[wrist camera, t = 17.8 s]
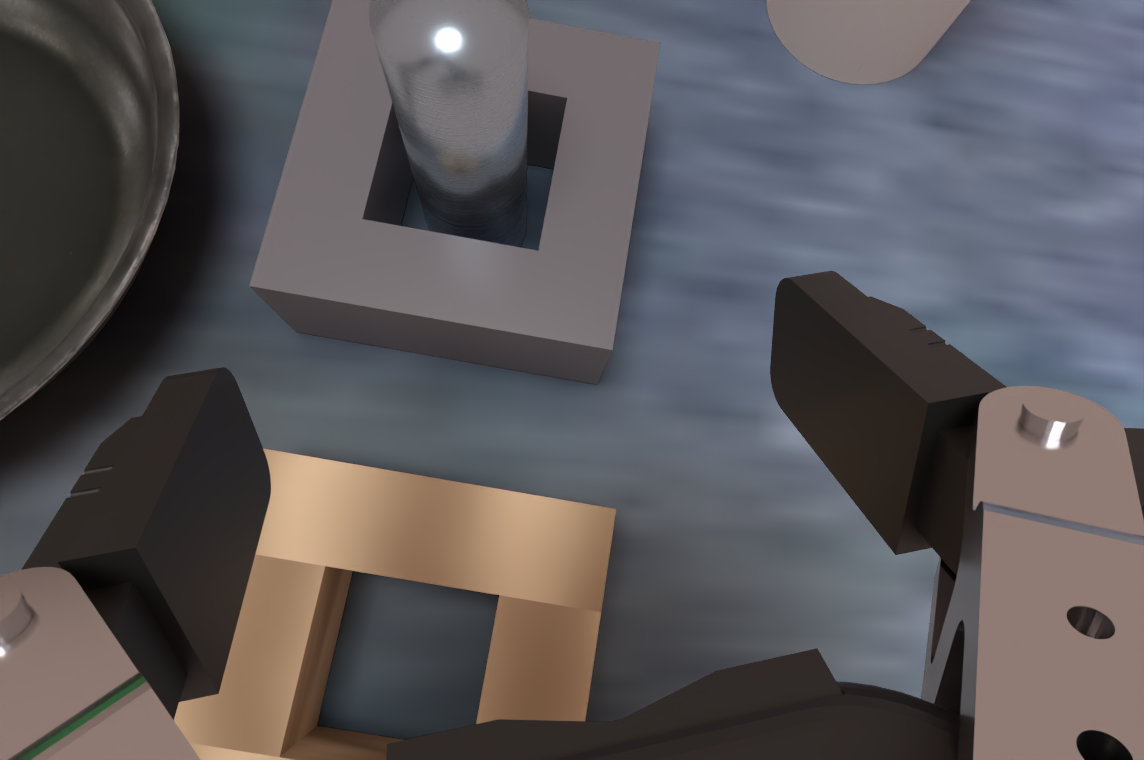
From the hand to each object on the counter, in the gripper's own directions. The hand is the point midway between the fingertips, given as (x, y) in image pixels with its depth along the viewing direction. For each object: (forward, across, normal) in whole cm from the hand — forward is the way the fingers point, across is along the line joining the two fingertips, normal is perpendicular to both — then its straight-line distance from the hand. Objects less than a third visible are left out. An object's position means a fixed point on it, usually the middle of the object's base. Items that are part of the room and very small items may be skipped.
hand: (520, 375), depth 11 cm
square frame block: (+8, +5, +16) cm, 19 cm away
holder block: (+20, 0, +4) cm, 20 cm away
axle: (+20, 0, +4) cm, 20 cm away
